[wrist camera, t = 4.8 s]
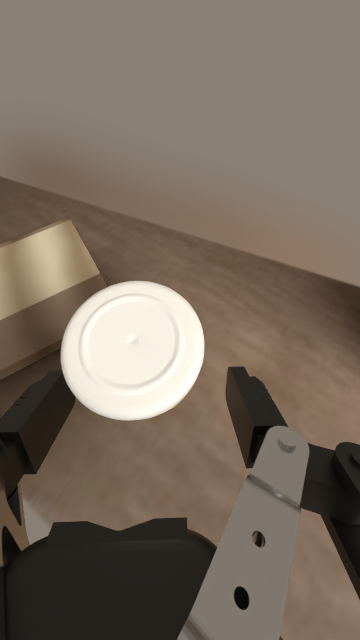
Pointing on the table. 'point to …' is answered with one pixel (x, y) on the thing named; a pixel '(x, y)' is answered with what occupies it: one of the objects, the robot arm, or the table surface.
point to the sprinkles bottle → (132, 350)
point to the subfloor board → (42, 291)
